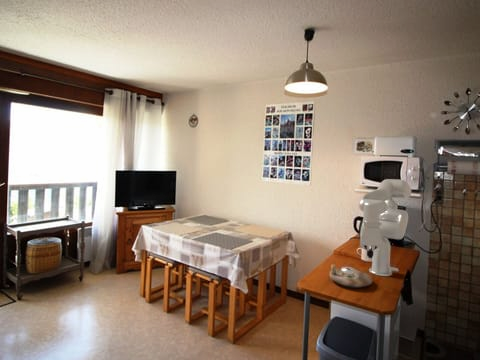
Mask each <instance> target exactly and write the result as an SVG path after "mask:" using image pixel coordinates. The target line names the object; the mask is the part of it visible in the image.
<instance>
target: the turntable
mask: <svg viewBox="0 0 480 360" xmlns="http://www.w3.org/2000/svg"><path fill="white" fill-rule="evenodd" d="M330 265H331V266H330V267H331V268H330V269H331V270H329V278H330V280H332V281H333V282H335V283H336V282H337V284H338V283H340V284H343V285H348V286H355V287H362V286H364V287H367V286H370V285H371V284H372V283H373V277H372V276H371V275H370V274H368V273H366V272H363V271H361V270H357V269H355V276H354V277H352V278H349V277H344V276H342V275H341V268H337V265H336V264H330ZM340 284H339V285H340ZM362 288H363V287H362Z"/></svg>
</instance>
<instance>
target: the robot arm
mask: <svg viewBox="0 0 480 360" xmlns="http://www.w3.org/2000/svg"><path fill="white" fill-rule="evenodd" d="M411 195H412V188H411V186H410V184H409V183H408V182H407V181H406V180H404V179H393V178H391V179H389V178H388V179H387V178H385V179H384V180H382V181H381V183H380V184H379V186H378V187H377V189H374V190H372V191H369V192H366V193H365V194H363V196H362V197H361V199H360V201H359V204H358V208H359V210H360V211H361V212H363V218H362V219H363V225H361V226H360V227H361V228H360V233H359V235H360V236H359V247H360V248H362V247H364V248H365V249H366V250H367V256H368V257H369V258H372V262H371V267H370V268H369V269H368V271H369V273H371V274H373V275H375V276H379V277H380V276H381V277H390V276H393V272H397V273H398V272H399V268H398V267H395V266H391V243H390V241H389V239H394V240H402V239H403V238H404V237H405V234H406V230H407V226H408V222H409V213H408V211H406V210H405V209H399V208H398V203H397V202H396V201H395V200H394V199H409V198H410V197H411ZM369 246H371V249H369ZM372 256H373V257H372Z"/></svg>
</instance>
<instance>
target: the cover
mask: <svg viewBox="0 0 480 360" xmlns="http://www.w3.org/2000/svg"><path fill="white" fill-rule="evenodd" d="M340 269H341V275H342V276H344V277H349V278H352V277H354V276H355V270H356V269H355V268H354V267H351V266H342V267H341V268H340Z"/></svg>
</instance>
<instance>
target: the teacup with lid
mask: <svg viewBox="0 0 480 360" xmlns="http://www.w3.org/2000/svg"><path fill="white" fill-rule="evenodd" d="M369 249H371V246H369ZM359 250H361V253H360V252H359ZM356 252H357V255H359V256H361V258H360V259H361V260H362V261H364V262H367V263H368V262H370V263H372V258H369V257H368V256H367V250H366V249H365V248H364V247H358V248H356ZM372 257H373V256H372Z"/></svg>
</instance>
